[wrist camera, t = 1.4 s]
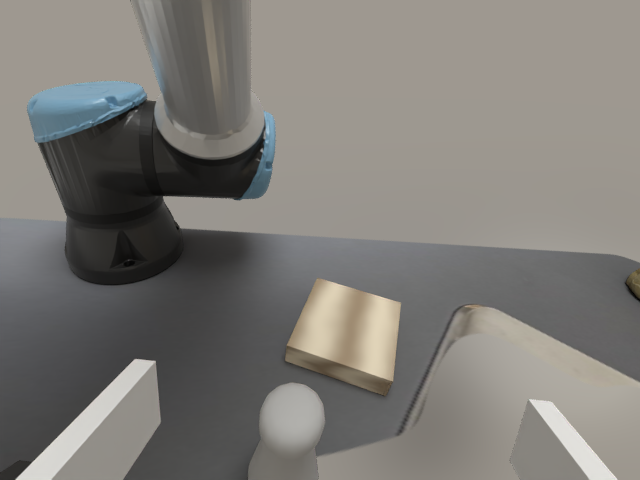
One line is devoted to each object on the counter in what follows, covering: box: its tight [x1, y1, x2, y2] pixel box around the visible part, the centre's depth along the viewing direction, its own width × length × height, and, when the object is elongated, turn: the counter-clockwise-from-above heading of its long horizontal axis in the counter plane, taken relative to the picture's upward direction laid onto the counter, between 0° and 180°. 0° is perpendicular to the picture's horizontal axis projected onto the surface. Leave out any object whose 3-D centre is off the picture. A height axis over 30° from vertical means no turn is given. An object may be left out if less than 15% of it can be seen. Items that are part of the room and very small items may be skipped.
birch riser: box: [285, 278, 401, 396], centre depth 40 cm, size 12×12×3 cm
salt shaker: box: [248, 382, 325, 480], centre depth 24 cm, size 6×6×13 cm
